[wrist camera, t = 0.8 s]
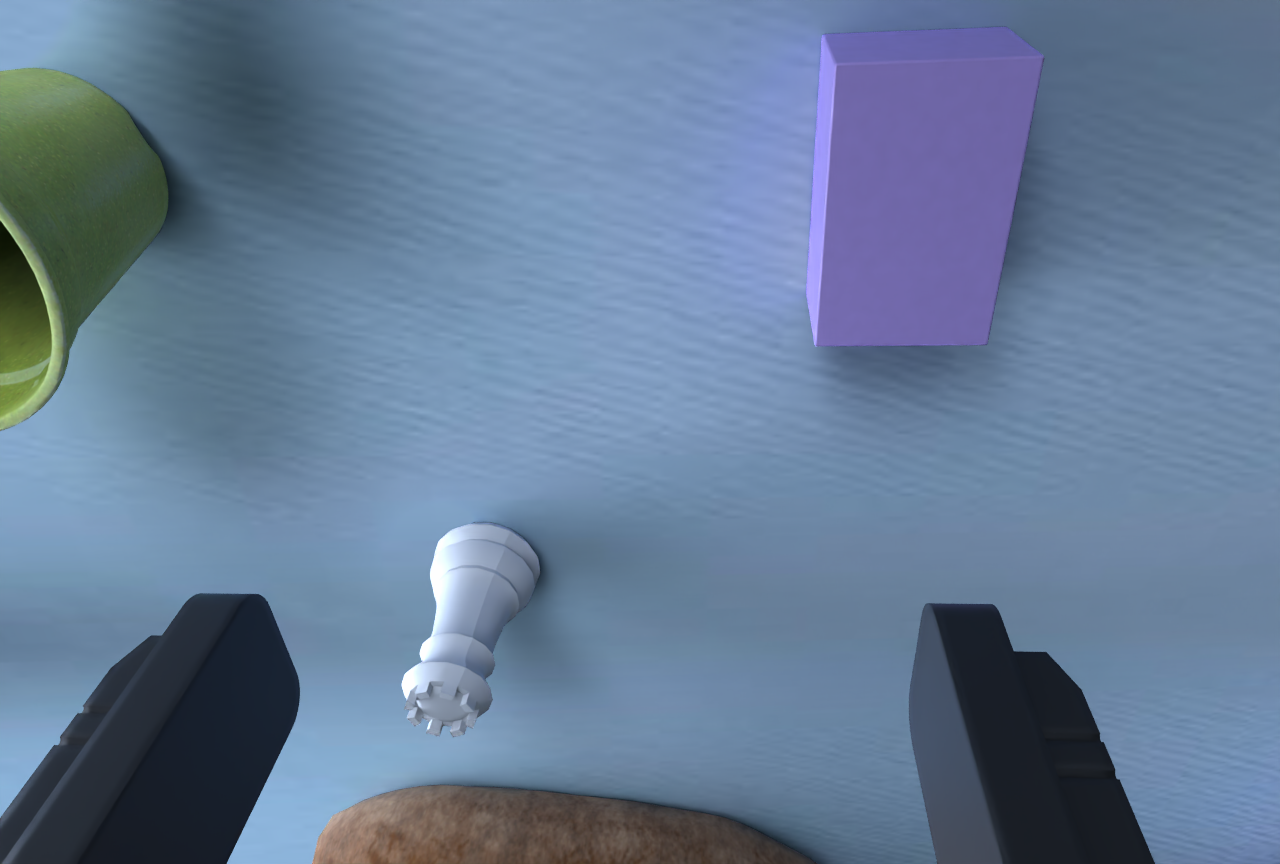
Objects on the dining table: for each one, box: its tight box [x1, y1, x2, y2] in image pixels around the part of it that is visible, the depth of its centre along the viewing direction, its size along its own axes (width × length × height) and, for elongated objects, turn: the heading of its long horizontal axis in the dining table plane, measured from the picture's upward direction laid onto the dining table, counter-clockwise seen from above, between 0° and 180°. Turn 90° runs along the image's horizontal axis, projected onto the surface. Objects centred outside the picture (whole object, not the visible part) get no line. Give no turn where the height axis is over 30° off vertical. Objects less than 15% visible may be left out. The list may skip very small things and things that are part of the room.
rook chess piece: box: [402, 522, 540, 737], centre depth 34 cm, size 4×4×8 cm
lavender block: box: [806, 27, 1044, 346], centre depth 25 cm, size 8×5×4 cm, turn 3°
